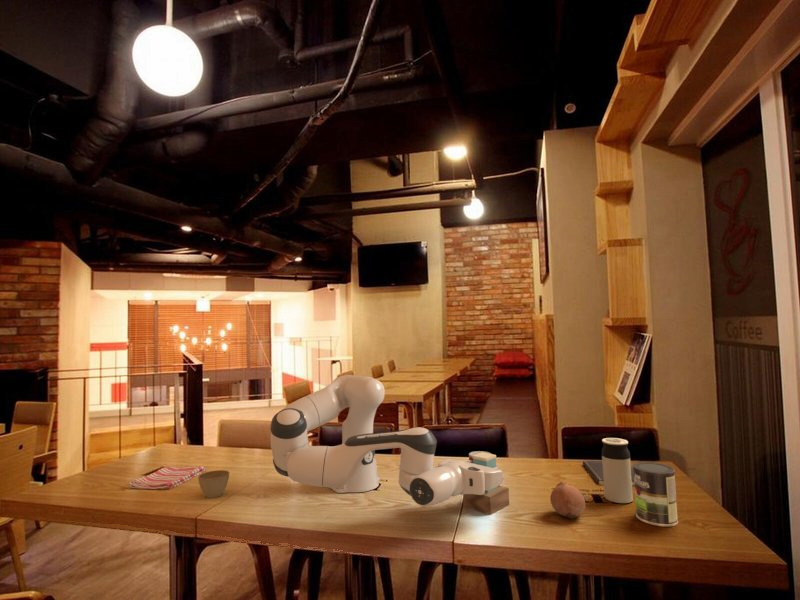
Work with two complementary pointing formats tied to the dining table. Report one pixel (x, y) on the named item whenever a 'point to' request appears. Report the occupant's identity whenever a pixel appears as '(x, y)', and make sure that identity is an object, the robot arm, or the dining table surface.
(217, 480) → the flower pot
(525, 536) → the dining table surface
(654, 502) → the coffee can
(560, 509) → the onion
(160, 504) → the dining table surface
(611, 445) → the travel mug
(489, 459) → the tea tin
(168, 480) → the dish towel
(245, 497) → the dining table surface
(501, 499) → the riser block
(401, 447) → the robot arm
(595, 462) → the hardcover book
